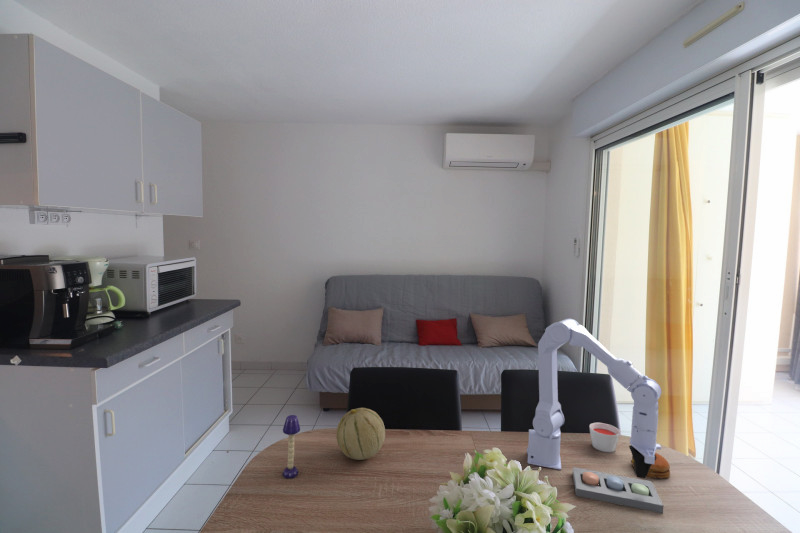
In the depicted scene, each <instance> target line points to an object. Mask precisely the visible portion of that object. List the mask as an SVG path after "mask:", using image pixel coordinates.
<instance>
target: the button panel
mask: <svg viewBox="0 0 800 533" xmlns="http://www.w3.org/2000/svg"><path fill="white" fill-rule="evenodd" d="M584 472H592V473H594V474H596V475H597V476H598V477H599V483H598V484H599V485H598V486H594V485H589V484H584V483H583V482H582V477H583V473H584ZM609 476H614V477H617V478H619V479H621V480H622V481H623V482H624V483H623V491H620V490H614V489H609V488H607V486H606V483H607V477H609ZM572 479H573V484H574V491H575V492H574V493H575V496H576V497H579V498H580V497H581V498H586V499H590V500H591V499H592V500H595V501H601V502H606V503H610V504H616V505H621V506H625V507H630V508H634V509H640V510H645V511H650V512H655V513H659V514H664V504H663V502H662V500H661V498H660V496H659V493H658V491H657V489H656V487H655V485H654V483H653V481H651V480H646V479H642V478H641V479H640V478H637V477H636V478H635V477H629V476H625V475H624V476H623V475H619V474H614V473H613V474H612V473H608V472H604V471H603V472H602V471H596V470H592V469H587V468H580V467H574V466H572ZM634 483H637V484H641V485H644V486H646V487H647V488H648V489H649V496H645V495H640V494H635V493H632V492H631V486H632V484H634Z"/></svg>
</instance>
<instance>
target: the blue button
mask: <svg viewBox="0 0 800 533" xmlns="http://www.w3.org/2000/svg"><path fill="white" fill-rule="evenodd" d="M623 483H624V482H623V481H622V480H621V479H619V478H617V477H614V476H609V477H607V483H606V488H609V489H614V490H620V491H623Z"/></svg>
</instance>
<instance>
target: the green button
mask: <svg viewBox="0 0 800 533" xmlns="http://www.w3.org/2000/svg"><path fill="white" fill-rule="evenodd" d="M631 492H632V493H635V494H640V495H645V496H649V489H648V488H647V487H646V486H644V485H641V484H637V483H634V484H632V486H631Z"/></svg>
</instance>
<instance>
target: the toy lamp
mask: <svg viewBox="0 0 800 533" xmlns="http://www.w3.org/2000/svg"><path fill="white" fill-rule="evenodd" d="M283 424H284V425H283V428H282V433H283V434H285V435H288V439H287V440H288V443H287V445H288V449H287V452H288V453H287V464H286V465H287V467H286V468H284V470H283V471H282V477H283V478H285V479H294V478H296V477H297V476H298V475H299V469H298V468H297V467H296V466H294V461H295V443H296V442H295V439H296V438H295V437H296V436H295V435H296V434H298V433H299V432H300V431H301V427H300V426H301V425H300V422H299V418H298V416H297V415H296V414H295V415H294V414H289V415H288V416H286V418H285V422H284V423H283Z"/></svg>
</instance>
